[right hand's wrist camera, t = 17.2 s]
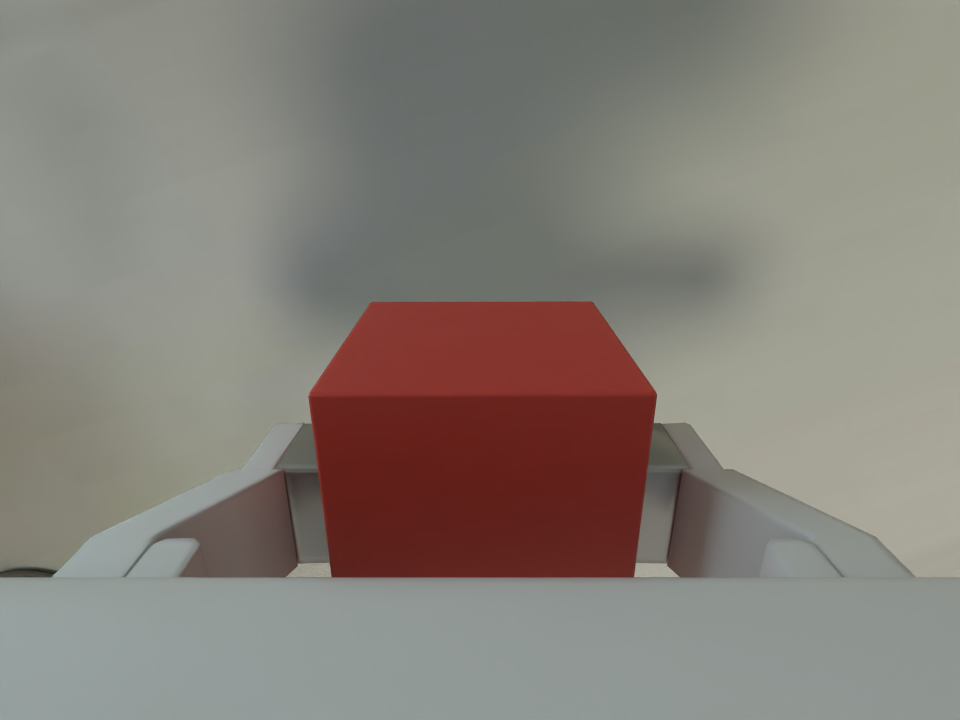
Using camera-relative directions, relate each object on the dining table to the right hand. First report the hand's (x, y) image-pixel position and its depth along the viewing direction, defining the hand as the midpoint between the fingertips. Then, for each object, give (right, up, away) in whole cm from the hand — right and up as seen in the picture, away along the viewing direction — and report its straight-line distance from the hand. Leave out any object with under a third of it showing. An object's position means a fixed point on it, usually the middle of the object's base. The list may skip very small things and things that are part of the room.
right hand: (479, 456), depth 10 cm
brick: (0, +1, +2) cm, 2 cm away
